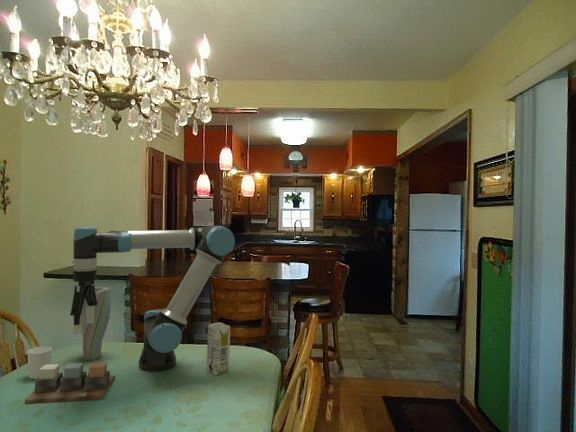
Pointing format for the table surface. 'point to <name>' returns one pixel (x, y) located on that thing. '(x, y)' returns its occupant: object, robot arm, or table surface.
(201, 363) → the table surface
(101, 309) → the vase
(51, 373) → the cream key
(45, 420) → the table surface
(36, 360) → the white cup
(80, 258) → the robot arm
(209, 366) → the juice carton
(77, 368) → the slate key
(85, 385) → the board
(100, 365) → the terracotta key
